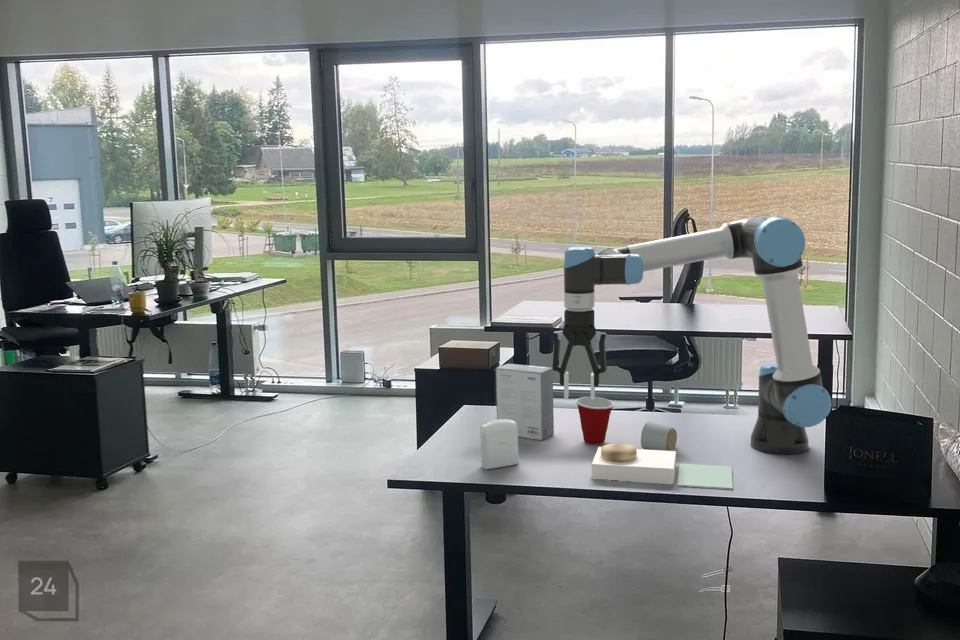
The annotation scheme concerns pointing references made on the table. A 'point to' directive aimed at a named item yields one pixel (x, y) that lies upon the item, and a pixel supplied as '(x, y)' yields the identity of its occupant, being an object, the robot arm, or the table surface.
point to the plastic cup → (594, 418)
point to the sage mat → (705, 476)
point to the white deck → (638, 467)
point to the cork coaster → (618, 452)
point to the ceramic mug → (658, 437)
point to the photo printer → (499, 444)
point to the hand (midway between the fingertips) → (579, 398)
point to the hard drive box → (526, 399)
